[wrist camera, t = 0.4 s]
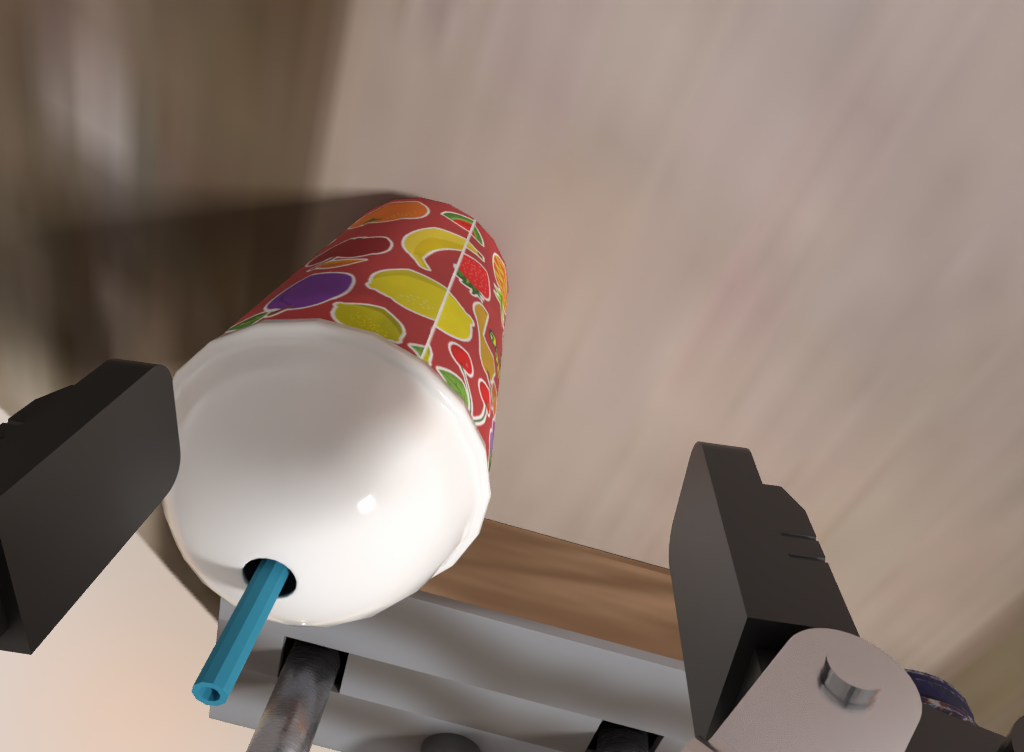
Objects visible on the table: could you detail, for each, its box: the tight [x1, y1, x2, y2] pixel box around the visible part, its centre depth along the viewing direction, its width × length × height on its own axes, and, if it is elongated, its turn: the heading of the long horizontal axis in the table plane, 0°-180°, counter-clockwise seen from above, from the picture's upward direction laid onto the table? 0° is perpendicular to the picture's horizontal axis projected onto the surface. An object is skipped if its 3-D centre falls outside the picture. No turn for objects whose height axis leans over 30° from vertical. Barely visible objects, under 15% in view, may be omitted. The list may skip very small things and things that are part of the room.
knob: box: [246, 639, 345, 752], centre depth 31 cm, size 4×4×9 cm
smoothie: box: [162, 198, 508, 706], centre depth 22 cm, size 8×8×20 cm
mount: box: [209, 519, 695, 752], centre depth 37 cm, size 12×24×6 cm, turn 75°
